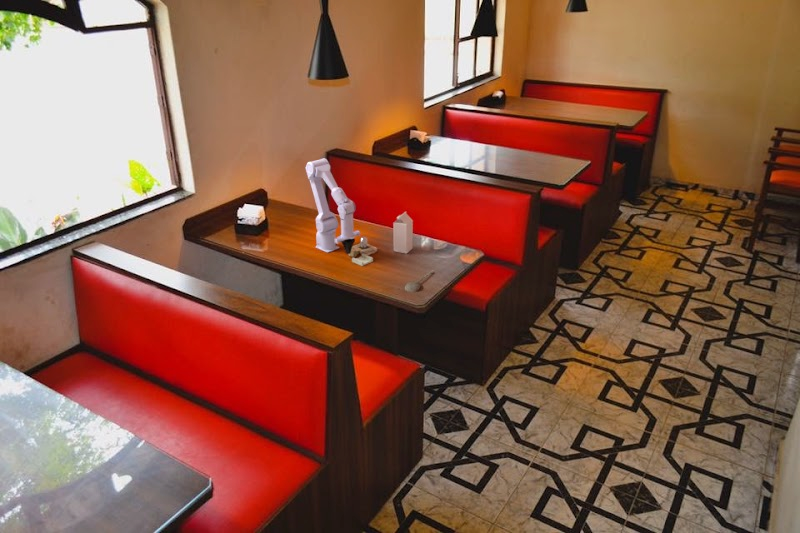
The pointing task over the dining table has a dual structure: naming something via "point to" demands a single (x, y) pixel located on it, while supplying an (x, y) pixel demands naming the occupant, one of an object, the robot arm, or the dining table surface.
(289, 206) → the dining table surface
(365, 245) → the peg
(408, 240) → the milk carton
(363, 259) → the pad
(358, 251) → the block
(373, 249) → the socket block
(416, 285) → the soupspoon
